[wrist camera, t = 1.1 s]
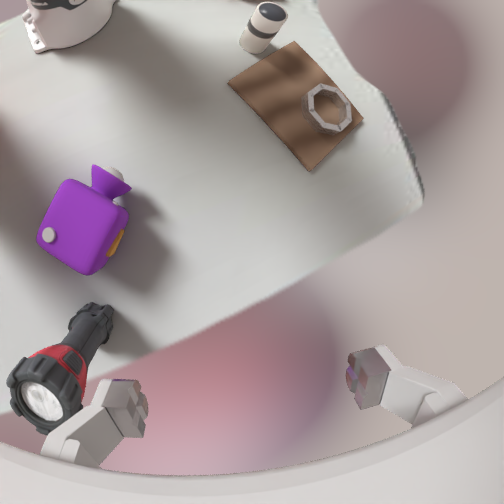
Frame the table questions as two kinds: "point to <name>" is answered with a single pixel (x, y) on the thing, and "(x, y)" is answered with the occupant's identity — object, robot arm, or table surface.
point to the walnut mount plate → (292, 101)
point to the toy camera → (85, 221)
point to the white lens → (263, 27)
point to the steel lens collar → (315, 119)
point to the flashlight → (59, 371)
